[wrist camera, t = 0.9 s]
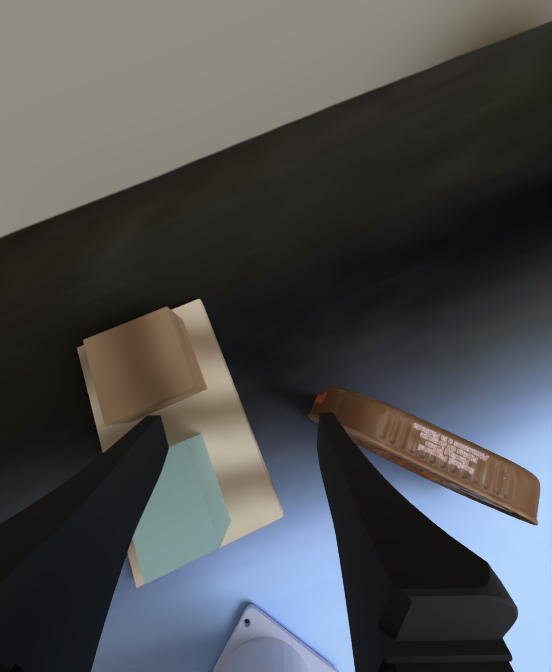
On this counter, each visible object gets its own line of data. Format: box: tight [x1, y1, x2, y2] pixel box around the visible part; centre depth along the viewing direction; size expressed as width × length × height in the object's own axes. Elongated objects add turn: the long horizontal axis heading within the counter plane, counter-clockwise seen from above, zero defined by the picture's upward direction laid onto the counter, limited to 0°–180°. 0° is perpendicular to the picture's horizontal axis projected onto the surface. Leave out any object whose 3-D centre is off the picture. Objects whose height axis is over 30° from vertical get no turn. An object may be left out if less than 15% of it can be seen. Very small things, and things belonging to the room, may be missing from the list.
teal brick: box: [133, 434, 231, 585], centre depth 19 cm, size 5×7×4 cm
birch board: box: [77, 299, 283, 588], centre depth 23 cm, size 20×12×1 cm, turn 23°
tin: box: [308, 388, 540, 525], centre depth 19 cm, size 15×3×8 cm, turn 64°
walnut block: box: [83, 307, 208, 426], centre depth 22 cm, size 7×7×4 cm
